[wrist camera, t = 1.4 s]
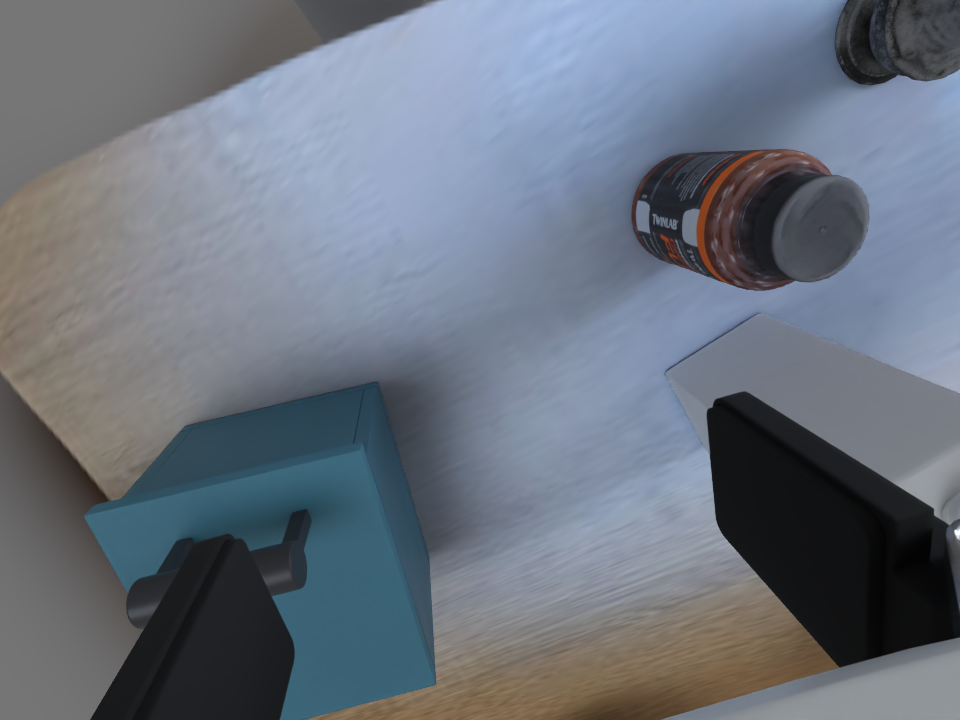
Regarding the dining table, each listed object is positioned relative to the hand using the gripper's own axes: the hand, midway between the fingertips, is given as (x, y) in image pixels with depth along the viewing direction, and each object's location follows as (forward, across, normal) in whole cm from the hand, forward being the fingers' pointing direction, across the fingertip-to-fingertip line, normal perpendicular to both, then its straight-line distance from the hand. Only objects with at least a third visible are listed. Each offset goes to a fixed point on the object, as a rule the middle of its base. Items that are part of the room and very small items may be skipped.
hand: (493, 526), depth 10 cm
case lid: (+13, +11, +10) cm, 20 cm away
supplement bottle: (+21, -15, -2) cm, 26 cm away
